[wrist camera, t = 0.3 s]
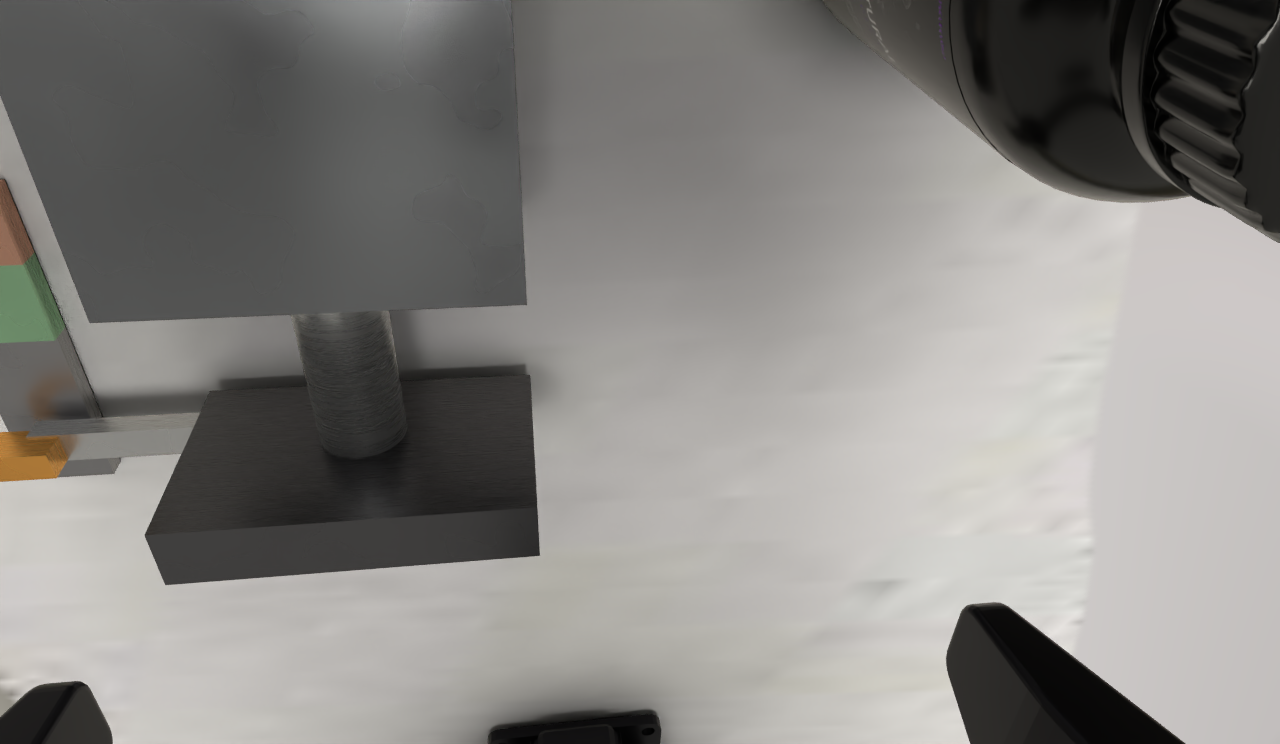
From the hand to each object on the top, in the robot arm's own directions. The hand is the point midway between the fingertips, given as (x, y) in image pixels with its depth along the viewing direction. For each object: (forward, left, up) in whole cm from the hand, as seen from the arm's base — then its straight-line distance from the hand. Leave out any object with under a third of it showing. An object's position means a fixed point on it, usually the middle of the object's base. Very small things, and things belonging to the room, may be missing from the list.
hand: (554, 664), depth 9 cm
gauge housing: (-1, +7, -14) cm, 15 cm away
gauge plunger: (-1, +6, -13) cm, 15 cm away
